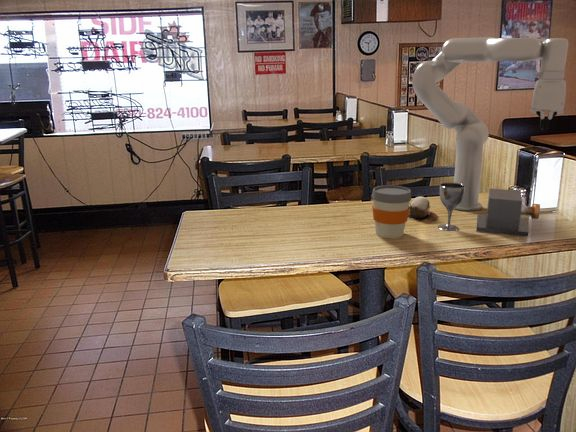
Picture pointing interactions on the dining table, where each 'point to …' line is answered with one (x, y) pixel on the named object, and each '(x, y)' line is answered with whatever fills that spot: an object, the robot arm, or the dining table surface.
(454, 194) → the wine glass
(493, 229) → the block
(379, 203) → the reusable coffee cup
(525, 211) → the shaft
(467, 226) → the dining table surface
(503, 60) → the robot arm
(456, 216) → the dining table surface
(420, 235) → the dining table surface
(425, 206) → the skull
